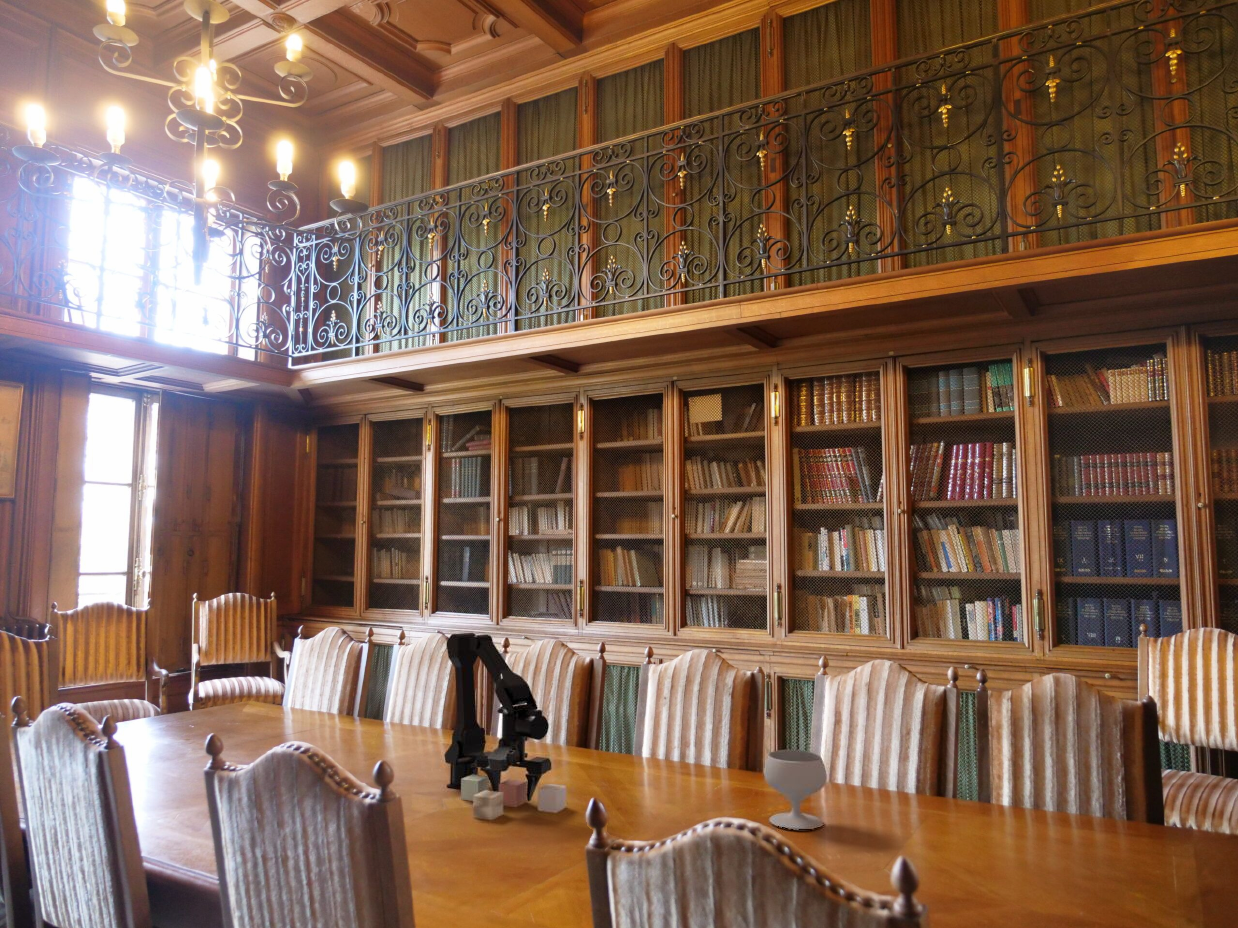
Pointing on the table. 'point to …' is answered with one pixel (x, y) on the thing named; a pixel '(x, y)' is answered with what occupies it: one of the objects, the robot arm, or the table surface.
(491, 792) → the ash block
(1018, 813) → the table surface
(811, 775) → the chalice
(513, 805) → the brick-red block
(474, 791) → the sage green block
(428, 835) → the table surface
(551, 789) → the pale grey block
